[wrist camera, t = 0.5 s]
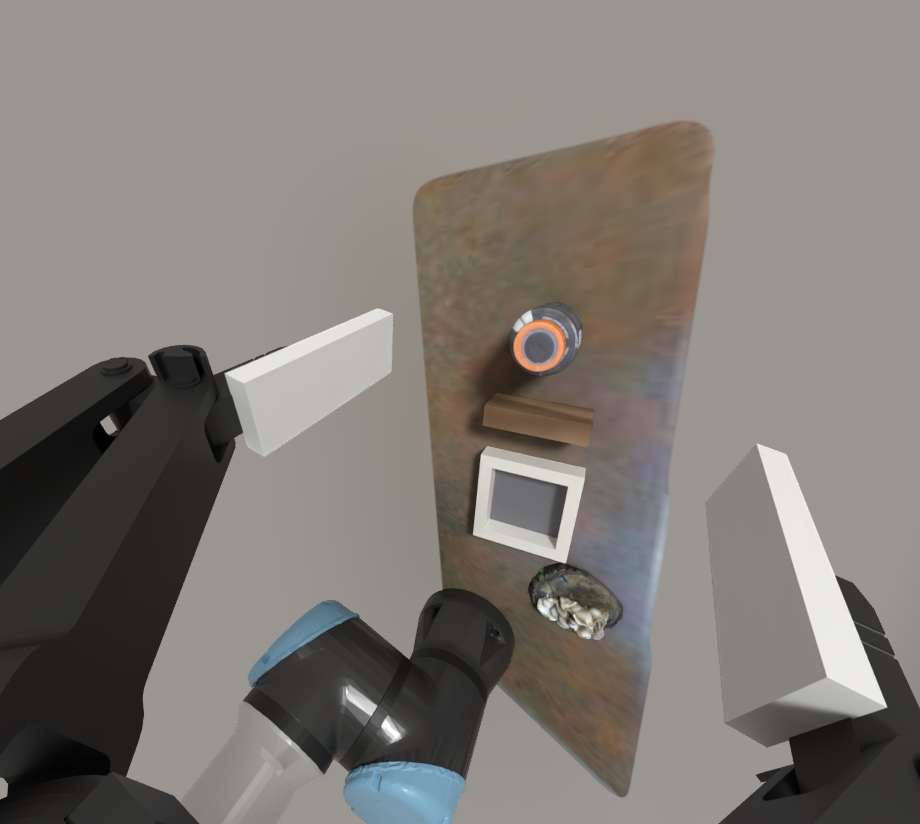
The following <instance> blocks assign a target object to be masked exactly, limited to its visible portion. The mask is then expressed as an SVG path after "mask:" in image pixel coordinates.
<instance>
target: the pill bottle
mask: <svg viewBox="0 0 920 824" xmlns="http://www.w3.org/2000/svg"><path fill="white" fill-rule="evenodd" d="M582 336H583V324H582V320H581V318H580V316H579V315H578V313H577V312H576V311H575V310H574V309H573V308H571V307H570V306H568V305H566V304H562V303H549V304H545V305H543V306H540V307H537V308H534V309H532V310H530V311H528V312H526V313H525V314H523V315H522V316H521V317H520V318H519V319H518V320H517V322H516V323H515V325H514V327H513V328H512V331H511V334H510V350H511V354H512V356H513V358H514V360H515V362H516V363H517V364H518V365H519V366H520V367H521V368H522V369H523V370H525V371H526V372H528V373H530V374H533V375H537V376H549V375H553V374H556V373H558V372H560V371H562V370H564V369H565V368H566V367H567V366H568V365H569V364H570V363H571V362H572V361H573V359H574V358H575V356H576V353H577V351H578V348H579V345H580V343H581V340H582Z"/></svg>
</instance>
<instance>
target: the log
mask: <svg viewBox="0 0 920 824" xmlns="http://www.w3.org/2000/svg"><path fill="white" fill-rule="evenodd" d="M529 589H530V593H531V597H532V600H533V604H534V607H535V608H536V609H537V610H538V611H540V613H541V614H542V615H543V616H544V617H546V618H547V619H548V620H549V621H554V622H555V623H557V624H558V625H559V626H560V627H561V628H566V629H568V630H572V631H573V632H575V633H578V636H580V637H582V638H585V639H590V638H593V639H595V640H599V639H601V638H603V636H604V629H605V628H610V629H611V628H612V627H614V626H615V625H616V624H617V623H618V620H621V618H622V616H623V607H622V605H621V603H620V601H619V600H618V598H617V597H616V596H615V595H614V594H613V593H612V592H611V591H610V590H609V589H608V588H607V587H606V586H605V585H604V584H603V583H602V582H600V581H599V580H598V579H597V578H596V577H594V576H593V575H592V574H591V573H590V572H588V571H586V570H584V569H582V568H580V567H578V566H575V565H571V564H567V563H562V562H560V563H556V564H552V565H549V566H545V567H544V568H542V569H540V570H539V573H538V574H537V575H536V576H535V577H533V578H532V583H531V584H530V586H529Z"/></svg>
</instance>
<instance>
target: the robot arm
mask: <svg viewBox="0 0 920 824" xmlns="http://www.w3.org/2000/svg"><path fill="white" fill-rule="evenodd" d="M392 331H393V314H392V313H389V312H387V311H384V310H381V309H375V310H373V311H370V312H368V313H365V314H363V315H361V316H358V317H356V318H354V319H351V320H349V321H347V322H344V323H342V324H340V325H337V326H335V327H333V328H330V329H328V330H325V331H323V332H321V333H318V334H316V335H314V336H311V337H309V338H307V339H304V340H302V341H300V342H297V343H295V344H293V345H290V346H285V347H280V348H277V349H275V350H272V351H270V352H268V353H266V355H261V356H258V357H256V358H255V360H254V359H251V360H249V361H246V362H244V363H242V364H239V365H237V366H234V367H232V368H230V369H227V370H225V371H223V372H220V373H218V374H215V375H213V373H212V370H211V367H210V364H209V361H208V358H207V355H206V352H205V351H204V350H203V349H202V348H200V347H197V346H191V345H176V346H170V347H165V348H162V349H159V350H157V351H154V352H153V353H151V354H150V355H149V356H148V357H149V359H150V362H151V364H152V366H153V368H154V371H155V373H156V375H157V376H153V375H151V374H150V372H149V370H148V367H147V365H146V363H145V362H144V361H142V360H141V359H137V358H125V357H119V358H112V359H109V360H106V361H103V362H100V363H98V364H95V365H93V366H91V367H90V368H88V369H86V370H85V371H83V372H81V373H79V374H78V375H76V376H75V377H73V378H71V379H69V380H68V381H66V382H64V383H63V384H61V385H59V386H57V387H56V388H54V389H52V390H51V391H49V392H47V393H45V394H44V395H42V396H40V397H39V398H37V399H35V400H34V401H32V402H30V403H29V404H27V405H25V406H23V407H22V408H20V409H18V410H17V411H15V412H13V413H12V414H10V415H8V416H7V417H5V418H3V419H2V420H0V777H1V778H4V779H5V781H6V782H7V783H8V794H7V797H5V798H3V799H1V800H0V824H277V822H278V821H279V819H280V817H281V816H282V814H283V813H284V811H285V809H286V808H287V806H288V805H289V803H290V801H291V800H292V798H293V796H294V795H295V793H296V792H297V791H298V790H299V789H301V788H302V787H304V786H306V785H309V784H311V783H314V782H317V781H319V780H321V779H322V778H323V776H324V774H325V773H326V771H327V769H328V768H329V766H330V764H331V763H332V761H333V760H334V759H335V760H336V761H337V762H339V763H340V764H341V765H342V766H343V767H344V768H345V769H346V770H347V771H348V772H349V774H348V775H347V777H346V779H345V786H344V798H345V801H346V802H347V804H348V805H350V806H351V809H352V811H353V812H354V813H355V814H356V815H357V816H358V817H359V818H360V819H362V820H363V821H365V822H366V823H367V824H452V821H453V818H454V815H455V812H456V808H457V805H458V802H459V799H460V796H461V794H462V793H463V791H464V789H465V784H466V782H465V781H466V777H467V773H468V770H469V766H470V762H471V758H472V754H473V751H474V747H475V743H476V740H477V736H478V732H479V728H480V725H481V721H482V717H483V714H484V709H485V705H486V702H487V699H488V696H489V695H490V693H491V692H492V690H493V689H494V687H495V686H496V684H497V683H498V681H499V680H500V679H501V677H502V676H503V674H504V673H505V671H506V670H507V668H508V666H509V664H510V662H511V658H512V654H513V650H514V635H513V632H512V629H511V627H510V625H509V623H508V621H507V620H506V618H505V617H504V616H503V614H502V613H501V612H500V611H499V610H498V609H497V608H496V607H495V606H493V605H492V604H491V603H490V602H488V601H487V600H485V599H484V598H482V597H480V596H478V595H476V594H473V593H471V592H468V591H464V590H459V589H446V590H441V591H438V592H436V593H434V594H433V595H432V596H431V597H430V598H429V599H428V601H427V602H426V604H425V606H424V608H423V610H422V611H421V614H420V617H419V622H418V627H417V633H416V639H415V644H414V650H413V653H412V656H411V658H410V659H408V658H407V657H405V656H404V655H403V654H402V653H401V652H400V651H398V650H397V649H396V648H395V647H393V646H392V645H391V644H390V643H389V642H388V641H386V640H385V639H384V638H383V637H382V636H380V635H379V634H378V633H377V632H376V631H374V630H373V629H372V628H371V627H370V626H368V625H367V624H366V623H365V622H364V621H362V620H361V619H360V618H359V615H358V614H356V613H353V612H351V611H350V610H349V609H347V608H346V607H345V606H343V605H342V604H341V603H339V602H338V601H335V600H327V601H324V602H321V603H320V604H318V605H316V606H315V607H314V608H312V609H311V610H309V611H308V612H307V613H305V614H304V615H303V616H302V617H301V618H300V619H299V620H297V621H296V622H295V623H294V624H293V625H292V626H291V627H290V628H289V629H288V630H286V631H285V632H284V633H283V634H282V635H281V636H280V637H279V638H278V639H277V640H276V641H275V642H274V643H273V644H272V646H271V647H270V648H269V649H268V652H266V653H265V654H264V655H263V656H262V657H261V658H260V659H259V660H258V661H257V662H256V664H255V665H254V666H253V668H252V669H251V671H250V672H249V675H248V680H249V685H250V686H251V687H253V686H254V688H253V689H252V690H251V691H250V693H249V694H248V695H247V696H246V698H245V699H244V700H243V701H242V702H241V703H240V706H239V714H238V722H237V727H236V730H235V733H234V734H233V736H232V737H231V738H230V739H229V741H228V742H227V743H226V744H225V746H224V747H223V748H222V750H221V751H220V752H219V753H218V754H217V756H216V757H215V758H214V759H213V760H212V762H211V763H210V764H209V766H208V767H207V768H206V769H205V771H204V772H203V773H202V774H201V775H200V777H199V778H198V779H197V780H196V782H195V783H194V784H193V785H192V787H191V788H190V789H189V790H188V792H187V793H186V794H185V795H184V797H183V798H182V799H181V800H180V802H179V801H178V800H177V799H176V798H175V797H174V796H173V795H170V794H168V793H165V792H163V791H160V790H158V789H155V788H152V787H150V786H147V785H145V784H142V783H140V782H137V781H135V780H132V779H129V778H127V777H126V775H127V772H128V770H129V767H130V764H131V761H132V758H133V755H134V753H135V750H136V747H137V744H138V741H139V738H140V734H141V731H142V726H143V718H144V710H143V691H144V687H145V683H146V680H147V678H148V675H149V672H150V670H151V667H152V665H153V662H154V659H155V657H156V654H157V651H158V649H159V646H160V644H161V641H162V638H163V636H164V633H165V630H166V628H167V625H168V623H169V620H170V617H171V614H172V612H173V610H174V607H175V604H176V601H177V599H178V596H179V594H180V591H181V588H182V586H183V583H184V581H185V578H186V575H187V573H188V570H189V568H190V565H191V562H192V560H193V557H194V554H195V552H196V549H197V546H198V544H199V541H200V538H201V536H202V533H203V531H204V528H205V525H206V523H207V520H208V518H209V515H210V512H211V510H212V507H213V505H214V502H215V499H216V497H217V494H218V492H219V489H220V486H221V484H222V481H223V478H224V476H225V473H226V471H227V468H228V465H229V463H230V460H231V458H232V455H233V452H234V449H235V439H234V438H235V437H237V436H238V435H240V434H242V433H243V435H244V438H245V442H246V445H247V447H248V448H250V449H251V450H253V451H255V452H256V453H258V454H260V455H262V456H263V457H265V456H266V455H268V454H269V453H271V452H272V451H274V450H275V449H277V448H278V447H280V446H281V445H283V444H284V443H286V442H287V441H289V440H290V439H292V438H293V437H295V436H296V435H298V434H299V433H301V432H302V431H303V430H305V429H307V428H308V427H310V426H311V425H313V424H314V423H316V422H317V421H319V420H320V419H322V418H323V417H325V416H326V415H328V414H329V413H331V412H332V411H334V410H335V409H337V408H338V407H340V406H341V405H343V404H344V403H346V402H347V401H349V400H350V399H351V398H353V397H355V396H356V395H358V394H359V393H361V392H362V391H364V390H365V389H367V388H368V387H370V386H371V385H373V384H374V383H376V382H377V381H379V380H380V379H382V378H383V377H385V376H386V375H388V374H389V373H391V372H392V334H393V333H392ZM108 415H109V416H110V418H111V420H112V421H113V423H114V425H115V426H116V428H117V430H116V431H115V432H114V433H112V434H110V435H108V434H107V433H106V432H105V430H104V428H103V427H102V426H101V424H100V421H102V420H103V419H104V418H106V417H107V416H108ZM705 504H706V515H707V526H708V539H709V550H710V561H711V573H712V584H713V596H714V607H715V618H716V630H717V641H718V653H719V664H720V676H721V688H722V699H723V710H724V722H725V723H726V724H727V725H729V726H731V727H733V728H734V729H736V730H738V731H739V732H741V733H743V734H745V735H746V736H748V737H750V738H752V739H753V740H755V741H757V742H759V743H760V744H762V745H764V746H766V747H770V746H773V745H776V744H779V743H782V742H785V741H788V740H789V742H790V747H791V752H792V757H793V762H794V764H793V765H789V766H785V767H782V768H778V769H774V770H770V771H766V772H763V773H760V774H757V775H756V776H757V777H758V779H759V780H760V781H761V782H765V781H766V782H765V783H764V784H763V785H762V786H761V787H760V788H758V789H757V790H756V791H755V792H754V793H753V794H752V795H751V796H749V797H748V798H747V799H746V800H745V801H744V802H743V803H741V805H739V806H738V807H737V808H736V809H735V810H734V811H732V812H731V813H730V814H729V815H728V816H727V817H726V818H725V819H723V820H722V821H721V822H720V823H719V824H920V708H919V706H918V704H917V702H916V699H915V697H914V695H913V693H912V691H911V689H910V687H909V684H908V682H907V680H906V678H905V676H904V674H903V671H902V669H901V667H900V665H899V662H898V661H897V660H896V659H894V655H895V654H894V652H893V649H892V647H891V645H890V643H889V641H888V639H887V638H885V637H884V634H885V632H884V630H883V628H882V625H881V623H880V621H879V619H878V617H877V615H876V612H875V610H874V608H873V607H872V606H871V605H870V603H869V602H868V601H867V600H866V598H865V597H864V596H863V595H862V594H861V592H860V591H859V590H858V589H857V587H856V586H855V585H854V584H853V583H852V582H849V581H847V580H844V579H842V578H840V577H838V576H835V575H834V572H833V570H832V567H831V565H830V562H829V560H828V558H827V555H826V553H825V550H824V548H823V545H822V542H821V540H820V537H819V535H818V532H817V530H816V527H815V525H814V522H813V520H812V517H811V515H810V512H809V510H808V507H807V505H806V502H805V500H804V497H803V495H802V492H801V490H800V487H799V485H798V482H797V480H796V477H795V475H794V472H793V470H792V467H791V465H790V462H789V460H788V457H787V455H786V454H785V453H782V452H779V451H776V450H773V449H770V448H768V447H765V446H762V445H759V444H756V445H755V446H754V447H753V448H752V450H751V451H750V452H749V453H748V454H747V455H746V456H745V458H744V459H743V460H742V461H741V462H740V463H739V465H738V466H737V467H736V468H735V469H734V470H733V471H732V473H731V474H730V475H729V476H728V477H727V478H726V479H725V481H724V482H723V483H722V484H721V485H720V486H719V487H718V489H717V490H716V491H715V492H714V493H713V494H712V496H711V497H710V498H709V499H708V500H707V501H706V503H705Z"/></svg>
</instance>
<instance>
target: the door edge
mask: <svg viewBox="0 0 920 824" xmlns="http://www.w3.org/2000/svg"><path fill="white" fill-rule="evenodd" d="M593 411H594V409H588V408H582V407H576V406H570V405H565V404H559V403H553V402H547V401H542V400H536V399H530V398H524V397H519V396H513V395H507V394H501V393H496V394H495V395H494V396H493V397H492V398H491V399H490V400H489V401H488V402H487V403H486V404H485V406H484V416H483V426H487V427H492V428H497V429H502V430H507V431H512V432H516V433H521V434H526V435H531V436H536V437H541V438H546V439H551V440H555V441H560V442H565V443H570V444H575V445H580V446H585V447H588V444H589V440H590V435H591V430H592V426H593Z"/></svg>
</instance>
